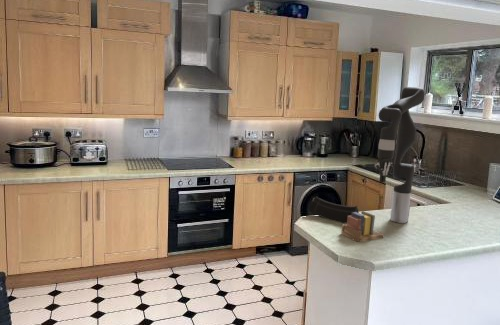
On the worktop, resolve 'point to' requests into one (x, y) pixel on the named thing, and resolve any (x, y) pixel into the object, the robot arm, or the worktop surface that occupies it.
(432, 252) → the worktop surface
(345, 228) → the shelf
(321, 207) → the magazine
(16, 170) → the worktop surface
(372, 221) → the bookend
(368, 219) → the book
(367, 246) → the worktop surface
